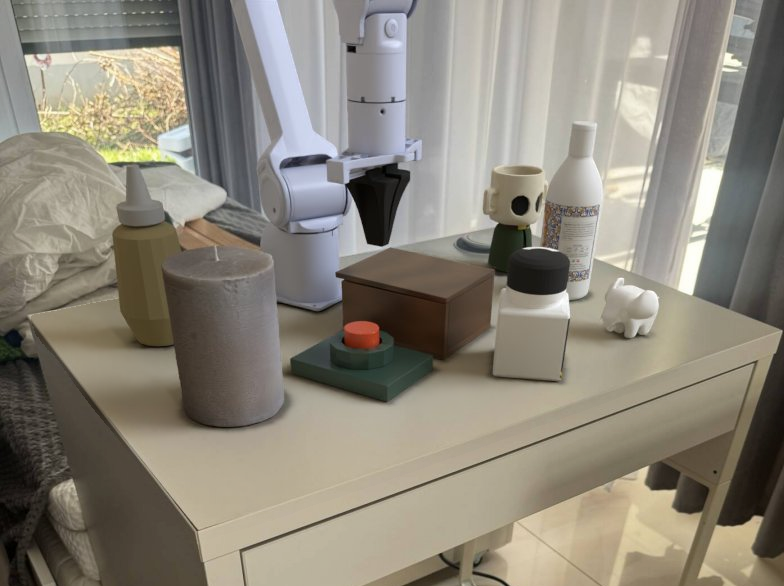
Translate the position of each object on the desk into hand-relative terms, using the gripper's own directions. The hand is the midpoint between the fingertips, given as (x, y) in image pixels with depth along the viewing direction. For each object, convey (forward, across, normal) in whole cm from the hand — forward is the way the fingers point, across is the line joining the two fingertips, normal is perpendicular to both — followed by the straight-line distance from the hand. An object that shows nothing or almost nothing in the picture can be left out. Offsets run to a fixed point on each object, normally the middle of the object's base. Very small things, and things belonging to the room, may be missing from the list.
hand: (377, 244), depth 83 cm
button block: (+10, -9, -4) cm, 14 cm away
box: (+10, +4, -3) cm, 12 cm away
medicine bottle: (+11, +2, -18) cm, 21 cm away
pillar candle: (+11, -22, +2) cm, 24 cm away
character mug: (+10, +31, -2) cm, 33 cm away
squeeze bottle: (+10, -14, +20) cm, 27 cm away
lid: (+4, +4, -2) cm, 6 cm away
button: (+7, -9, -4) cm, 12 cm away
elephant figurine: (+11, +17, -24) cm, 31 cm away
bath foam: (+11, +26, -12) cm, 31 cm away
